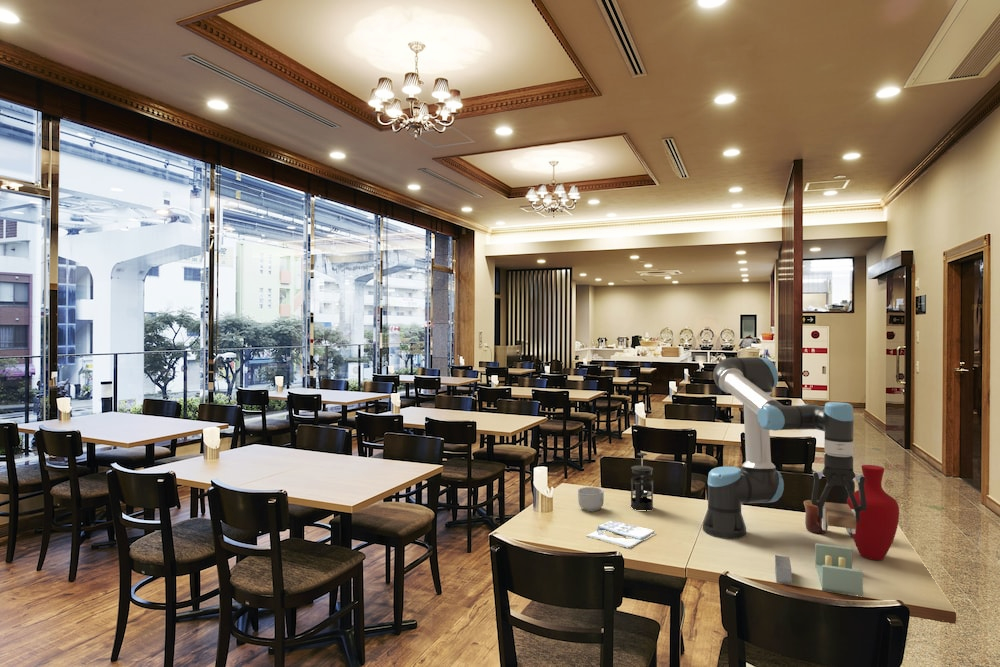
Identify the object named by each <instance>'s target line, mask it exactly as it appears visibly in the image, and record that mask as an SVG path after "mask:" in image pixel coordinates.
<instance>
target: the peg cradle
mask: <svg viewBox="0 0 1000 667" xmlns="http://www.w3.org/2000/svg"><path fill="white" fill-rule="evenodd" d="M814 548H815V551H814V552H815V554H814V556H815V558H814V559H815V560H814V562H815V563H814V565H815V569H816V573H817V576H818V580H819V584H820V587H822V588H821V591H822V592H828V593H833V592H835V594H840V593H843V594H842V595H846V594H848V596H853V595H858V596H857V597H859V596H864V595H863V591H864V590H863V586H864V585H863V584H864V583H863V582H864V579H863V577H864V575H863V574H864V572H863V570H862V569H857V568H853V548H852V547H849V546H848V547H847V546H839V545H832V544H826V543H825V544H823V543H817V542H816V543H815V545H814Z"/></svg>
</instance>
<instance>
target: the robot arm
mask: <svg viewBox="0 0 1000 667" xmlns="http://www.w3.org/2000/svg"><path fill="white" fill-rule="evenodd" d="M712 375H713V380H714V383H715V385H716V386H717V387H718V388H719V389H720V390H721V391H723V392H724V393H729V394H731V395H732V396H733V397H734V398H736V399H737V400H738V401H739V402H741V403H742V405H743V420H744V422H743V423H744V440H745V441H744V445H745V446H744V448H745V461H744V462H743V463H742V464H741V468H739V467H736V466H718V467H714V468H712V469H711V470H710V471H709V472H708V477H707V511H706V513H705V516H704V519H703V522H702V531H703V532H705V533H706V534H708V535H710V536H713V537H717V538H723V539H741V538H744V537H746V536H747V526H746V522H745V519H744V517H743V513H742V505H743V504H760V503H761V504H762V503H763V504H768V503H775V502H777V501H779V500H780V498H781V497H782V496H783V492H784V487H785V483H784V479H783V475H782V474H781V472H780V471H778V470H777V469H776V468H777V467H776V465H775V464H774V463H773V462H772V456H771V436H770V434H771V433H770V431H785V430H786V431H790V430H793V431H794V430H795V431H796V430H817V431H822V432H824V444H823V445H824V456H823V457H824V465H823V467H824V468H823V469H822V471H817V470H816V471H815V470H814V471H812V475H813V478H814V480H813V484H812V485H813V486H812V492H811V499H810V500H811V502H812V504H813V505H816V506H817V507H818V517H819V518H822V529H823V530H826V508H825V506H824V503H825V502H827V499H828V497H829V494H830V493H831V490H832V488H833V486H834V487H835V486H836V487H837V486H840V487H845V489H846V492H847V494H848V496H849V497H850V499H851V502H852V504H853V507H854V509H851V511H852V512H853V514H854V516H855V517H856V522H859V521H860V511H862V510H867V505H866V497H865V490H864V483H865V477H864V476H863V474H856V473H855V472H854V456H853V455H854V423H855V421H854V420H855V416H854V406H853V404H851V403H848V402H841V401H840V402H838V401H828V402H825V404H824V406H822V405H817V404H815V403H805V404H804V403H803V404H802V405H785V404H784V405H783V404H782V403H781V402H779V401H778V400H777V399H775V398H774V397H772V396H771V395H772V394H773V389H774V388H775V387H776V386H777V385H778V382H779V373H778V368H777V367H776V365H775V363H774V362H773V361H772V360H771V359H769V358H767V357H760V356H758V357H757V356H755V357H754V356H752V357H749V356H748V357H735V356H734V357H727V358H724V359H723V360H720V361H719V362H718V363H717V364H716V366H715V367H714V369H713V373H712ZM822 476H824V477H825V479H826V480H827V481H826V482H825V483H826V484H825V486H824V488H823V491H822V493H821V495H820V498H819V500H818V494H819V487H820V480H821V479H822ZM854 479H855V481H856V483H857V487H858V490H859V496H860V503H861V505H858V504H857V501H856V499H855V497H854V494H853V492H854V491H853V489H852V486H851V485H850V483H851V482H852V481H853V480H854ZM818 501H819V502H818ZM851 532H852V534H855V529H851Z"/></svg>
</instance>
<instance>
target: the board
mask: <svg viewBox="0 0 1000 667" xmlns="http://www.w3.org/2000/svg"><path fill="white" fill-rule="evenodd" d="M824 506H825V508H826V521H827V524H828V527H836V528H844V529H846V528H851V529H856V517H855V516H854V514H853V512H852V511H851V509H850V507H849V505H848V504H847V503H838V502H830V501H829V502H828V501H825V503H824Z"/></svg>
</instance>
